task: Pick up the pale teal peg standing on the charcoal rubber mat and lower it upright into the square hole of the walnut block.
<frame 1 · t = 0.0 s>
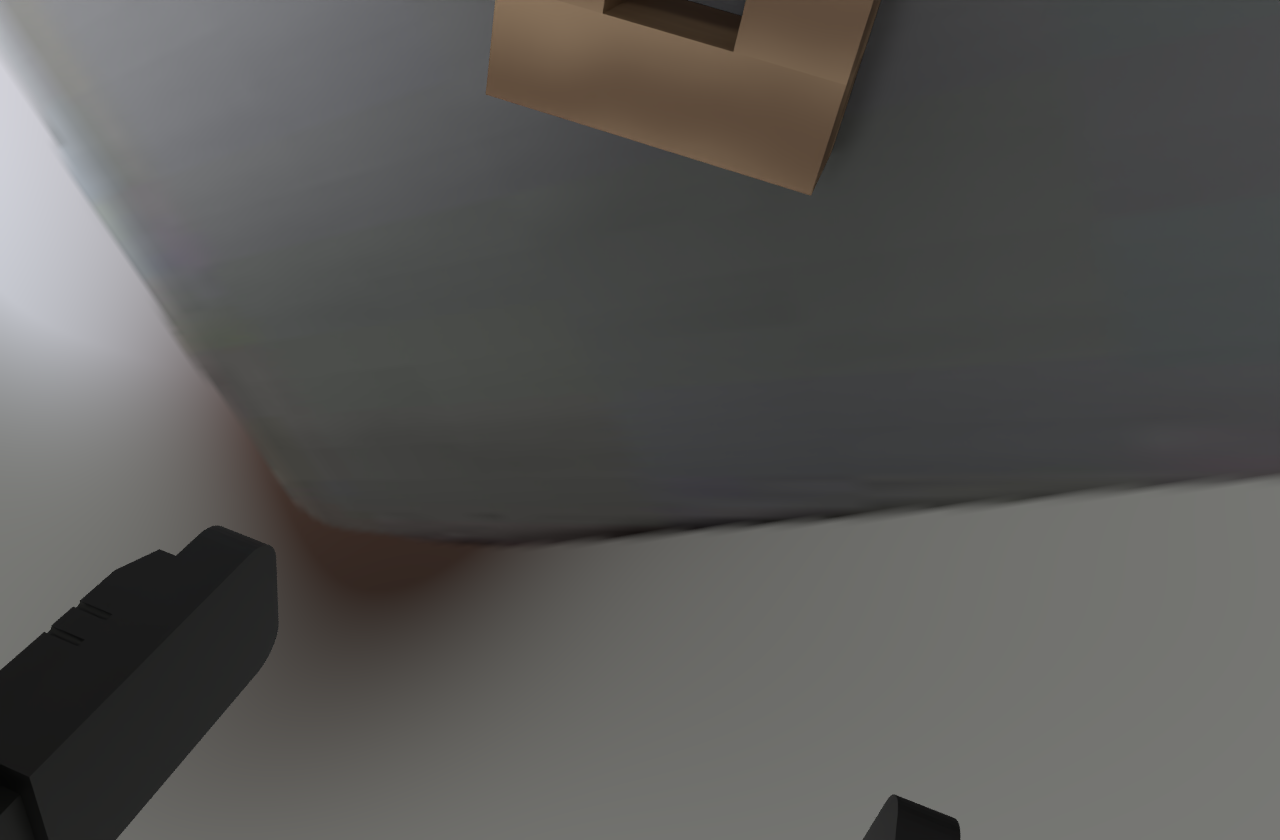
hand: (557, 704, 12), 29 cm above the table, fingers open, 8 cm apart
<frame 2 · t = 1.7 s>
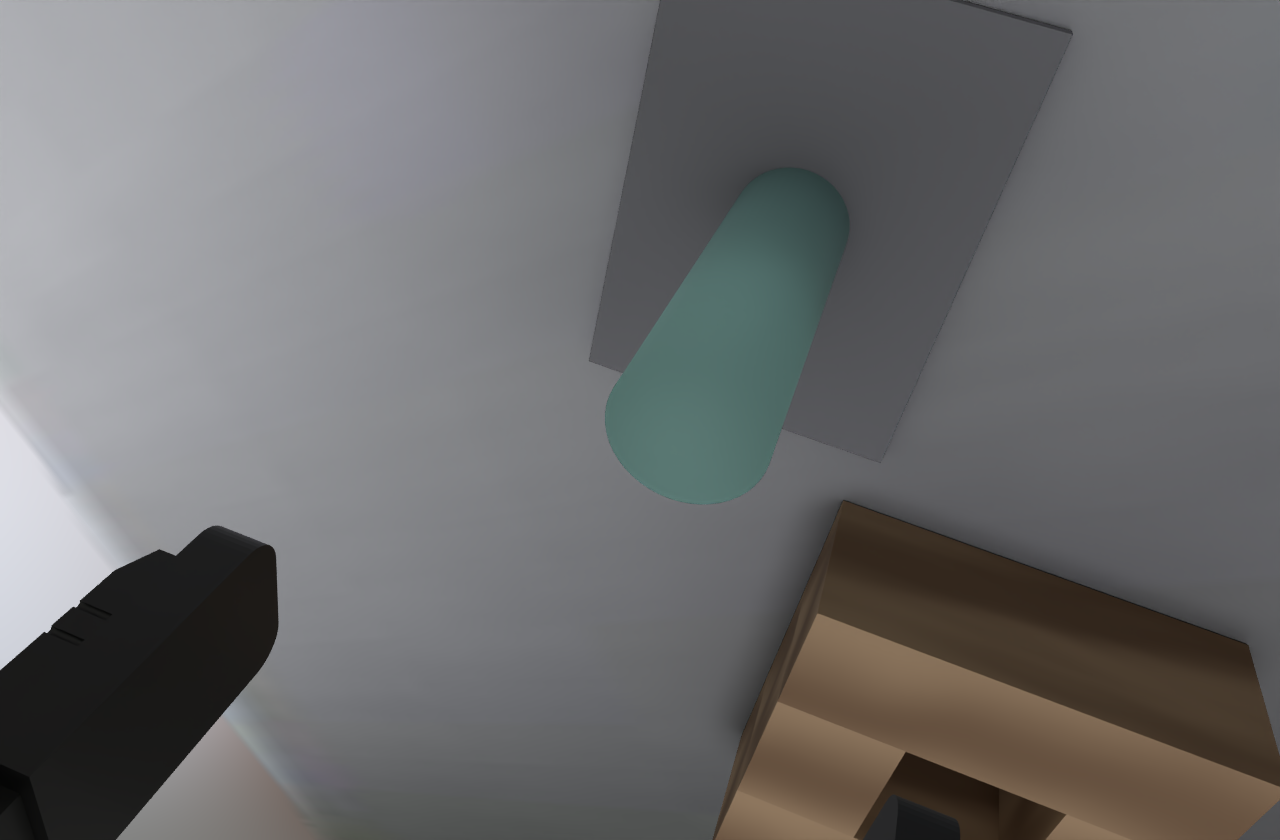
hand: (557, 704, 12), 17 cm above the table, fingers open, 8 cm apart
peg: (790, 225, 25), resting on mat
mat: (792, 219, 25), on the table
hole block: (960, 696, 32), on the table
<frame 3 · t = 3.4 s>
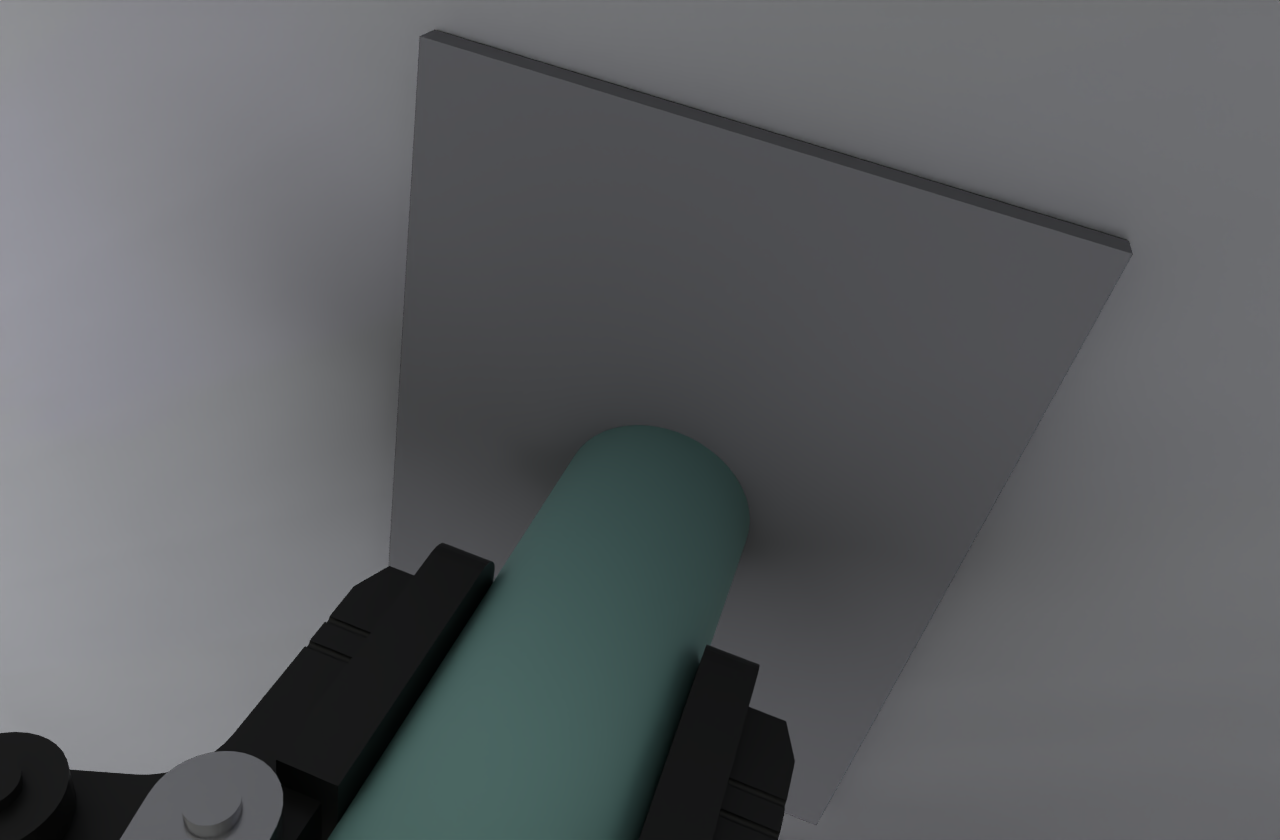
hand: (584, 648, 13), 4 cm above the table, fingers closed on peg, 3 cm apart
peg: (655, 506, 15), resting on mat, touching gripper
mat: (663, 491, 15), on the table
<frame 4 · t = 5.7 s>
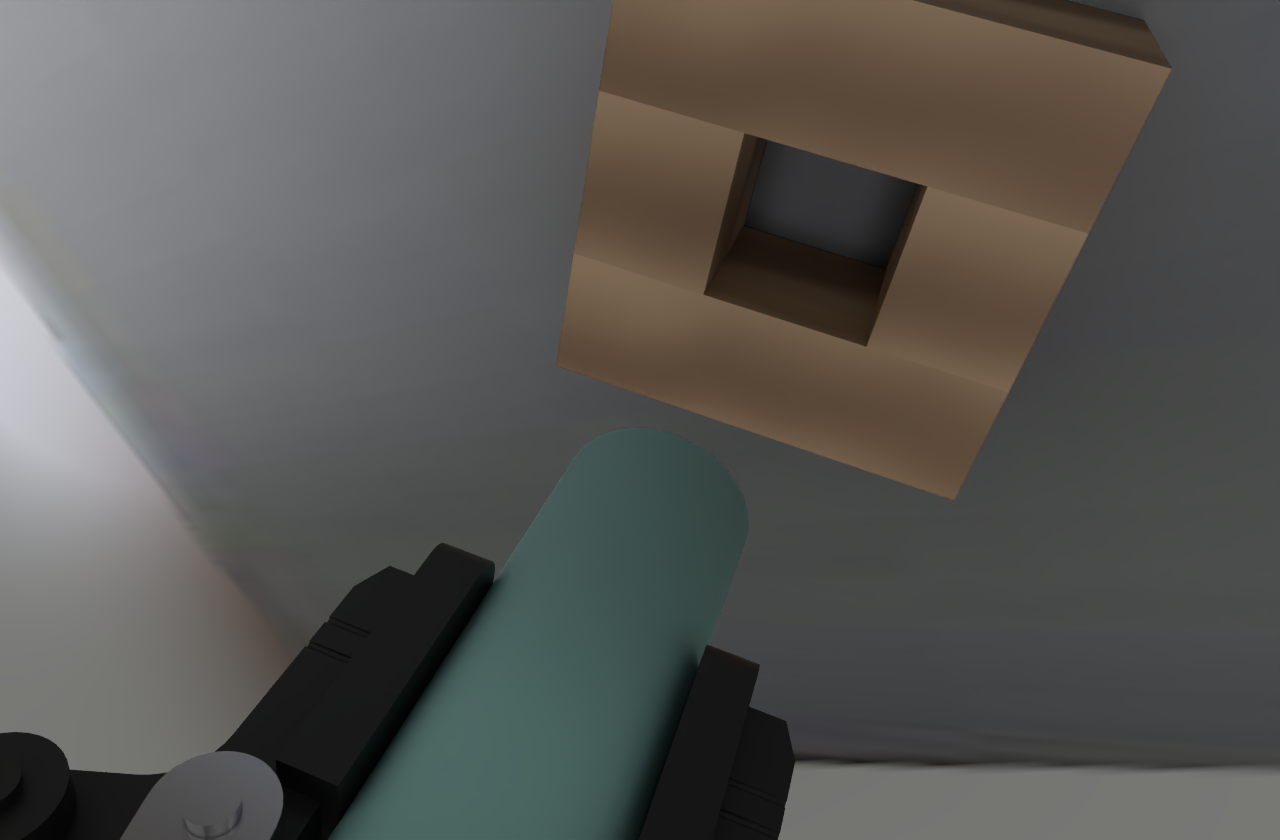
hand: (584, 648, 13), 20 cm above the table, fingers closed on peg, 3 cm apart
peg: (654, 508, 15), point 16 cm above the table, touching gripper
hole block: (835, 178, 28), on the table
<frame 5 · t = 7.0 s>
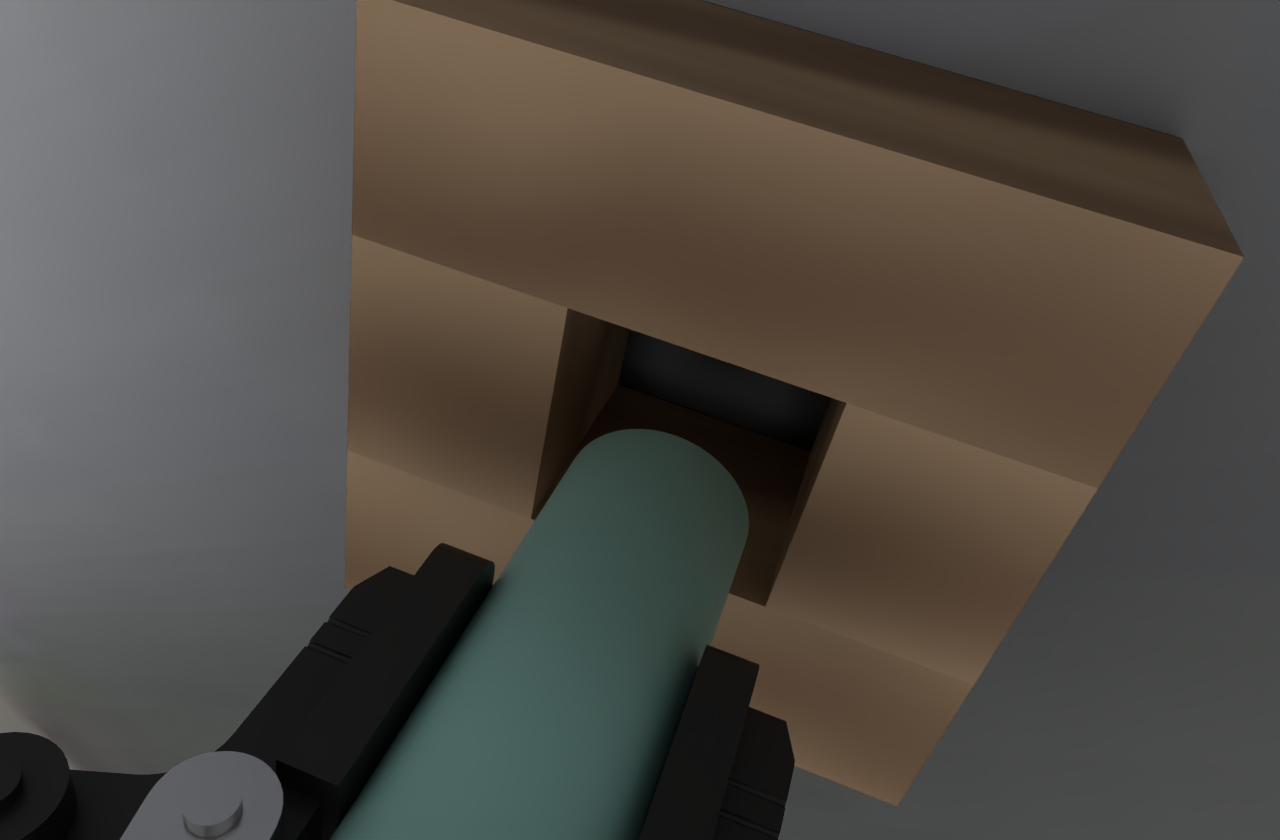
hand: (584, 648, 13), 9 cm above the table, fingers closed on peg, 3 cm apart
peg: (655, 509, 15), point 6 cm above the table, touching gripper
hole block: (738, 332, 20), on the table
when the fingers open (6 cm above the table, at t = 8.0 s): peg drops 3 cm, resting in hole block.
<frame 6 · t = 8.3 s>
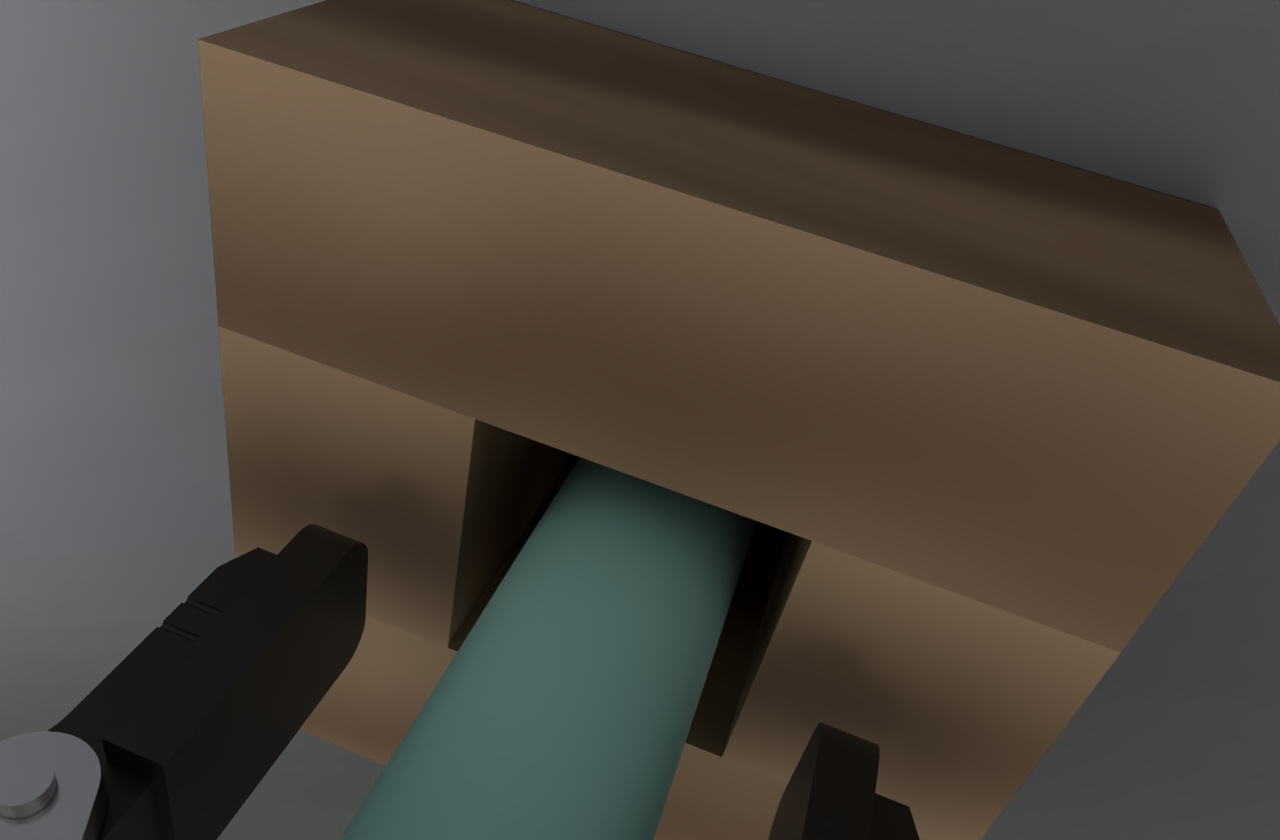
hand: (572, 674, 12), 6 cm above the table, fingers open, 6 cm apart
peg: (702, 417, 17), resting in hole block
hole block: (698, 415, 17), on the table
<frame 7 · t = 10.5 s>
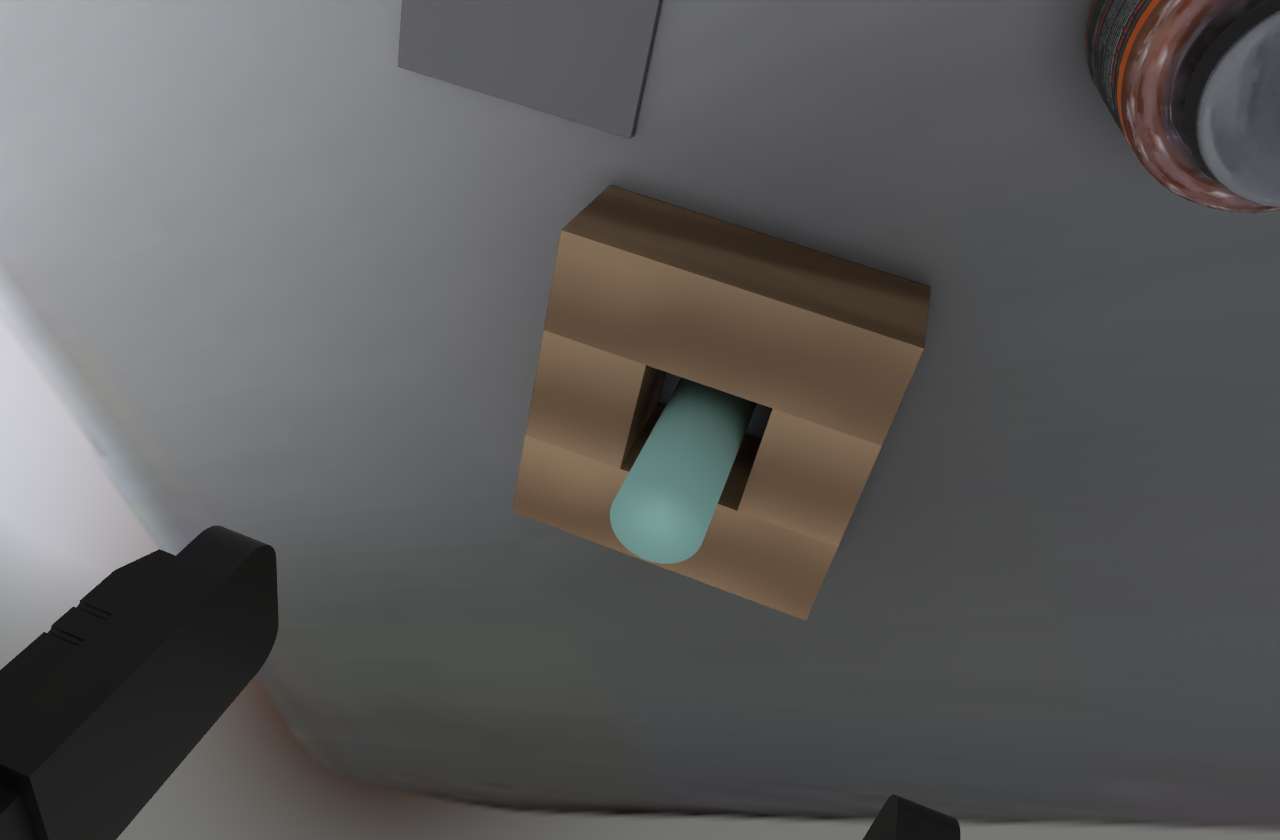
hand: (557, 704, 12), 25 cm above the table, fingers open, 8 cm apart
peg: (725, 376, 38), resting in hole block
supplement bottle: (1196, 19, 28), on the table
hole block: (723, 375, 38), on the table
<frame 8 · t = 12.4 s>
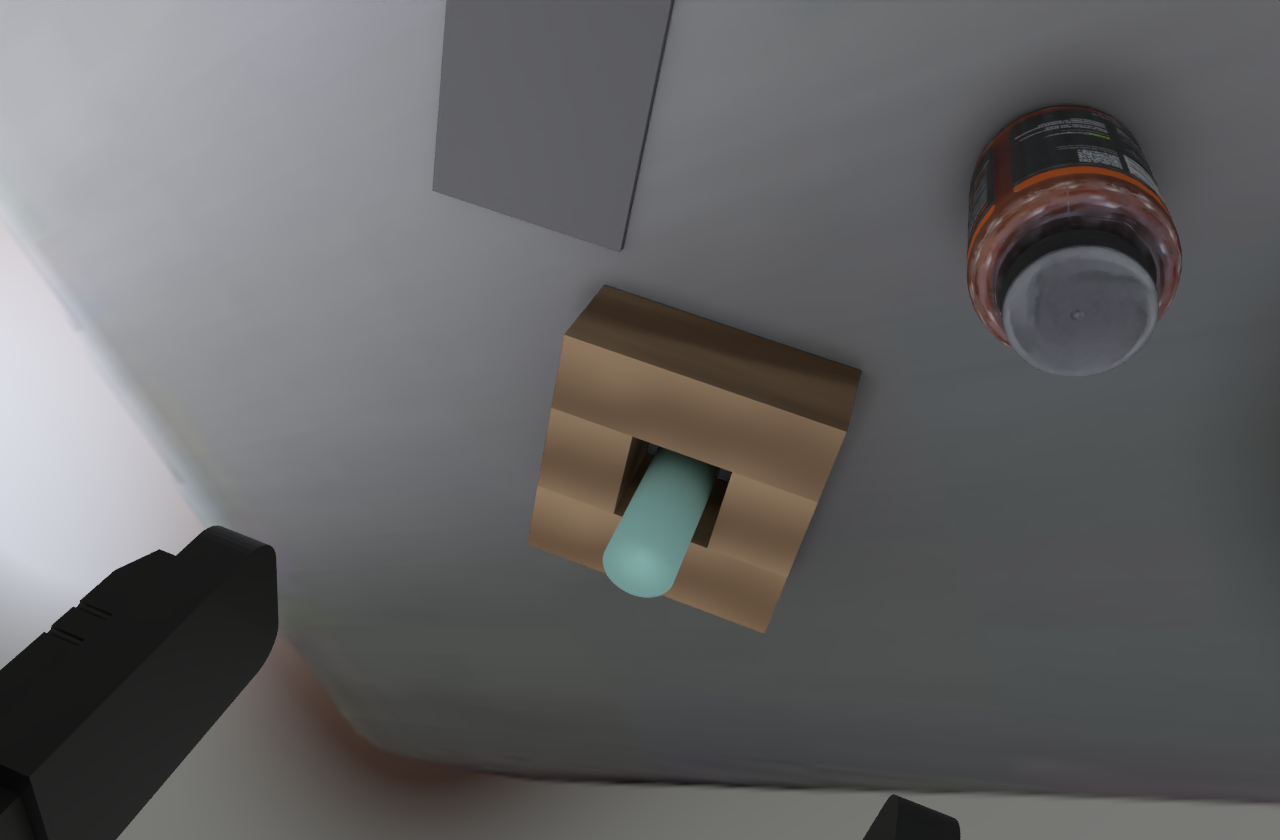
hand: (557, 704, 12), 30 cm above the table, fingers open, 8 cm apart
peg: (700, 433, 46), resting in hole block
supplement bottle: (1055, 181, 36), on the table
mat: (547, 83, 39), on the table
hole block: (699, 433, 46), on the table
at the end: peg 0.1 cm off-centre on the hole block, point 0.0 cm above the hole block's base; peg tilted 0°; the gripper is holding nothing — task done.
